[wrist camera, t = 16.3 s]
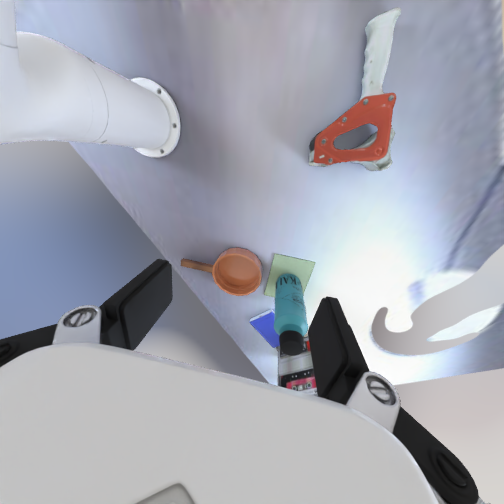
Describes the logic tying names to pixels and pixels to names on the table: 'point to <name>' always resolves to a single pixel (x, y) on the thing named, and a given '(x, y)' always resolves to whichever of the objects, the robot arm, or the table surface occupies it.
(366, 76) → the tape dispenser
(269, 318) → the hard drive
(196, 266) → the pan handle
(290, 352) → the beverage bottle
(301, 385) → the tall grey upright box
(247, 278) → the pan
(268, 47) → the table surface
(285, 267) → the cloth
